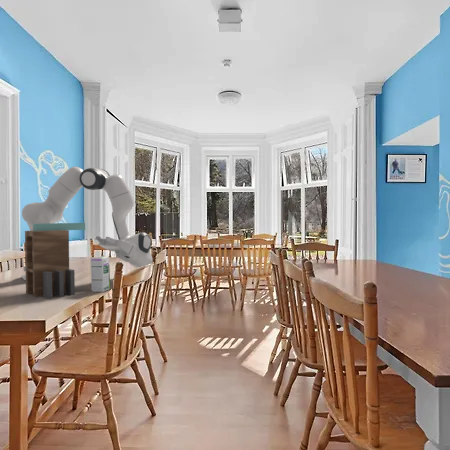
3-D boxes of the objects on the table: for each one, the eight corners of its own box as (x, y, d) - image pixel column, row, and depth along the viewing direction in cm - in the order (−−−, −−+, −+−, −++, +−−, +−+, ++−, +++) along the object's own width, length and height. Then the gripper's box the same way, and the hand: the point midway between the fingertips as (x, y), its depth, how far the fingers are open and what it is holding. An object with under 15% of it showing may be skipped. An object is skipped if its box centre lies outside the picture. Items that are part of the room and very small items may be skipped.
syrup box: (103, 292, 160) (103, 257, 159) (90, 291, 161) (90, 257, 160) (110, 289, 165) (109, 256, 165) (97, 289, 166) (97, 256, 166)
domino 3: (70, 294, 154) (70, 270, 154) (65, 293, 157) (65, 269, 157) (74, 294, 155) (74, 270, 155) (69, 292, 159) (69, 268, 158)
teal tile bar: (33, 230, 156) (33, 223, 156) (82, 229, 172) (82, 222, 172) (35, 231, 154) (35, 223, 154) (85, 229, 170) (85, 222, 169)
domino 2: (59, 296, 151) (59, 271, 151) (54, 294, 154) (54, 270, 154) (63, 296, 152) (63, 271, 152) (58, 294, 155) (58, 270, 155)
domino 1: (48, 298, 148) (47, 272, 147) (43, 296, 151) (42, 271, 151) (52, 297, 149) (51, 272, 148) (47, 296, 152) (46, 271, 152)
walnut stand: (26, 293, 158) (24, 230, 157) (59, 288, 168) (58, 229, 168) (35, 296, 151) (33, 231, 150) (69, 291, 161) (68, 230, 161)
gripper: (115, 244, 194) (93, 231, 185) (138, 245, 180) (115, 232, 171) (110, 255, 192) (87, 243, 183) (133, 257, 178) (109, 244, 169)
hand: (101, 237), depth 177 cm, fingers open, 8 cm apart
